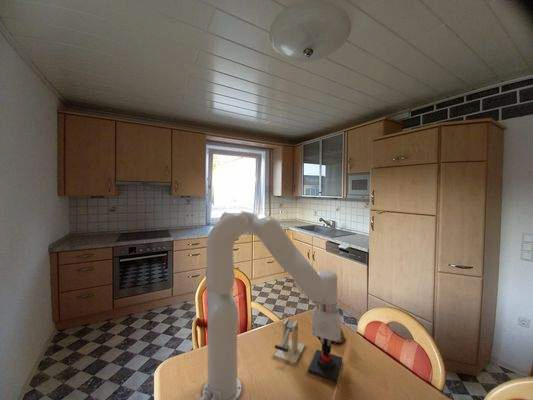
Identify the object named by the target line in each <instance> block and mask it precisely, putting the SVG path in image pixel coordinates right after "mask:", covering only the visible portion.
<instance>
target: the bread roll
mask: <svg viewBox="0 0 533 400" xmlns="http://www.w3.org/2000/svg"><path fill="white" fill-rule="evenodd" d="M340 335H341V339H342V340H341V342H340V343H339V342H334V343H333V344H332V345H334V346H335V345H337V346H339V345H340V344H342V343H343V342H344V341H345V334H344V330H343V329H342V328H341V334H340ZM326 340H327V341H328V339H326Z"/></svg>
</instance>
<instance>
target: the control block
mask: <svg viewBox="0 0 533 400" xmlns="http://www.w3.org/2000/svg"><path fill="white" fill-rule="evenodd" d="M322 352H323V351H322V350H320V349H316V350H315V352H314V355H313V357H312V359H311V361H310V364H309V366H308V369H307V373H309V374H311V375H313V376H317V377H320V378H322V379H325V380H327V381H330V382H333V383H335V386H337V385H338V381H339V377H340V373H341V369H342V364H343V357H342V356H338V355H335V354H332V353H330V355H331V361H330V362H327V363H326V362H323V361H322V360H321V353H322Z"/></svg>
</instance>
